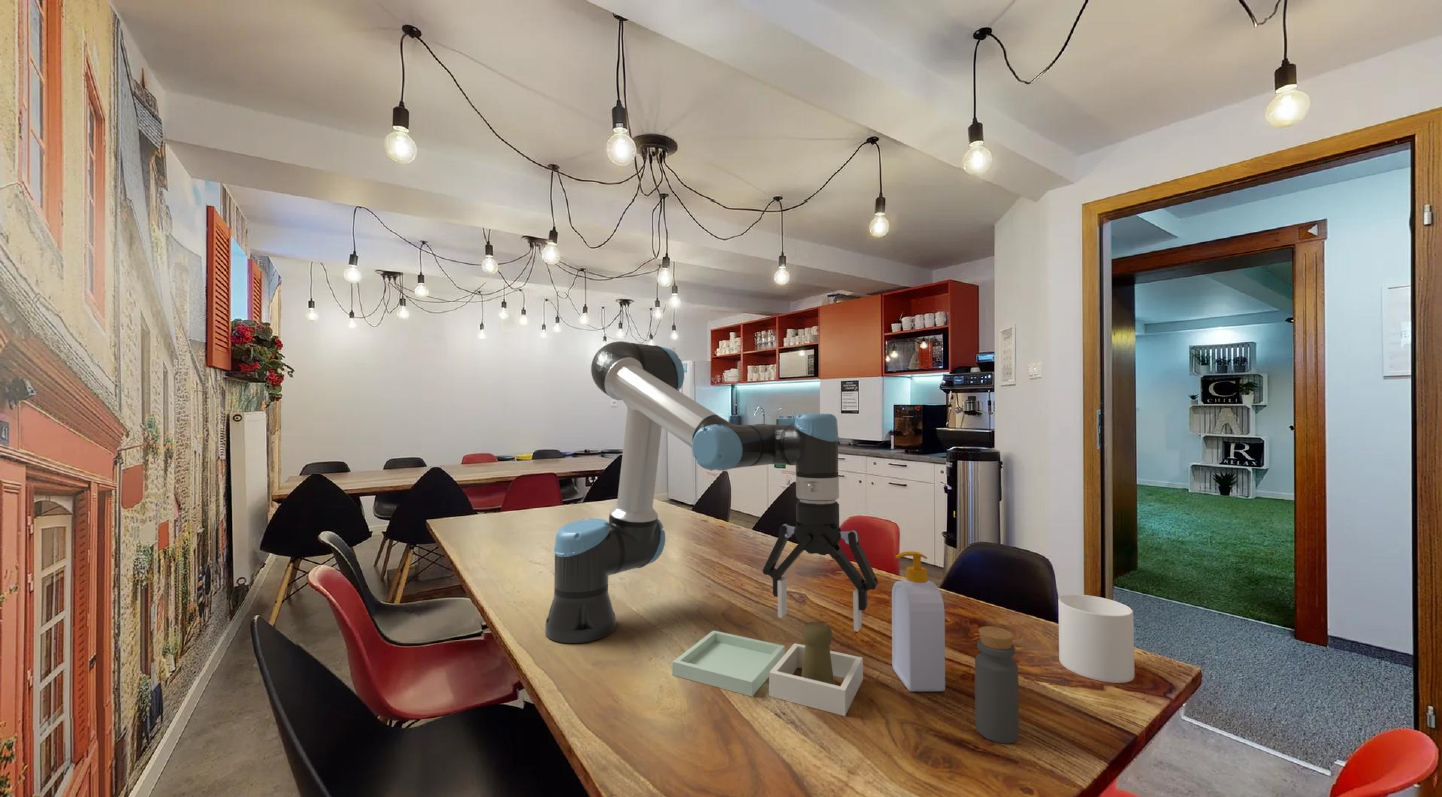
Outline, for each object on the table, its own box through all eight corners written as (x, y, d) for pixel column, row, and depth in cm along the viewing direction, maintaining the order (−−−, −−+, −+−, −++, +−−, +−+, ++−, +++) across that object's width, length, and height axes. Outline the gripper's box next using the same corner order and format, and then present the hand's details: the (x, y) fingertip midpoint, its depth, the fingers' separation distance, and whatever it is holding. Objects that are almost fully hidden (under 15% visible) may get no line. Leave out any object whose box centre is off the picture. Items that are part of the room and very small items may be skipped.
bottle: (967, 721, 83) (967, 624, 83) (1003, 720, 83) (1002, 623, 84) (989, 744, 77) (988, 640, 77) (1027, 743, 77) (1026, 639, 78)
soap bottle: (887, 668, 100) (887, 546, 101) (924, 667, 100) (923, 546, 101) (905, 693, 91) (905, 559, 92) (945, 692, 91) (944, 559, 92)
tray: (672, 674, 97) (672, 661, 97) (713, 641, 111) (713, 630, 111) (752, 696, 90) (752, 682, 90) (784, 658, 104) (784, 645, 104)
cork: (835, 698, 89) (835, 632, 90) (799, 694, 91) (799, 629, 91) (834, 681, 95) (834, 619, 96) (800, 677, 96) (800, 616, 97)
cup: (1067, 648, 109) (1066, 590, 110) (1139, 668, 101) (1137, 604, 101) (1052, 667, 101) (1051, 604, 101) (1128, 690, 93) (1127, 621, 93)
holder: (769, 695, 90) (769, 672, 90) (794, 664, 102) (794, 642, 102) (845, 716, 84) (845, 690, 84) (862, 679, 96) (862, 657, 96)
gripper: (744, 498, 96) (745, 616, 95) (886, 508, 85) (888, 642, 84) (760, 493, 103) (761, 603, 102) (893, 502, 92) (895, 626, 91)
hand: (818, 621), depth 93 cm, fingers open, 13 cm apart
